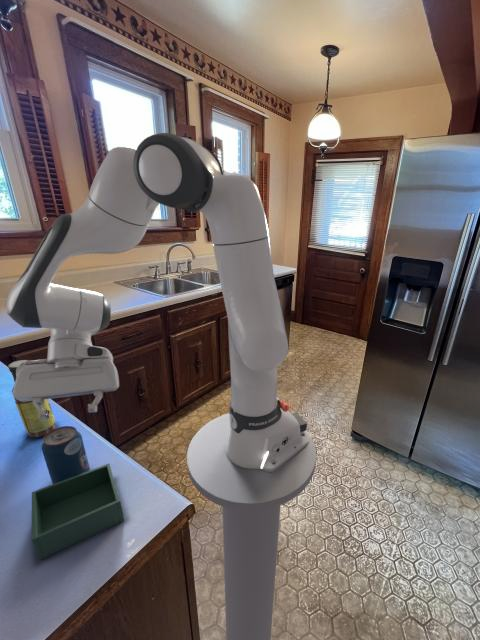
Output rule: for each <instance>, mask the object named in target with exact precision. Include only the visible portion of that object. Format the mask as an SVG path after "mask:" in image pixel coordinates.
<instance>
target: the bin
mask: <svg viewBox="0 0 480 640" xmlns="http://www.w3.org/2000/svg"><path fill="white" fill-rule="evenodd" d="M112 471H113V470H112V468H111V465H110V463H107V464H104V465H101V466H98V467H95V468H93V469H90V470H89V471H87V472H85V473H82V474H79V475H77V476H74V477H71V478H68V479H66V480H63V481H60V482H58V483H55V484H53V483H52V484H50V485H47V486H44V487H42V488H39V489H37V490H33V491H31V541H32V542H31V543H32V544H33V547H34V549H35V552H36V554H37V557H38V559H39V561H41V560H43V559H45V558H47V557H49V556H51V555H54V554H56V553H58V552H61V551H62V550H64V549H66V548H68V547H71V546H72V545H75V544H77V543H79V542H81V541H83V540H85V539H88V538H90V537H91V536H93V535H95V534H98V533H100V532H102V531H104V530H106V529H109V528H110V527H114V526H115V525H116V524H119V523H121V522H123V521H125V516H124V512H123V507H122V501H121V499H120V495H119V492H118V488H117V485H116V482H115V478H114V475H113V472H112Z"/></svg>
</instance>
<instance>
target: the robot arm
mask: <svg viewBox="0 0 480 640" xmlns="http://www.w3.org/2000/svg"><path fill="white" fill-rule="evenodd" d="M159 205H163V206H165V207H168V208H172V209H178V210H183V211H187V212H192V213H197V212H200V213H202V215H203V216H204V217H205V219H206V221H207V225H208V228H209V232H210V233H209V234H210V238H211V243H212V248H213V254H214V259H215V263H216V269H217V273H218V274H217V275H218V277H219V283H220V288H221V292H222V297H223V302H224V307H225V311H226V316H227V329H228V331H227V332H228V349H229V350H228V351H229V367H230V401H229V411H228V413H229V419H230V433H229V438H228V441H227V444H226V447H225V452H226V455H227V457H228V459H229V460H230V461H231V462H232V463H234V464H235V465H237V466H240V467H243V468H248V469H261V470H264V471H267V472H273V471H275V470H276V469H277V468H279V467H280V466H281V465H282V464H284V463H285V462H286V461H287V460H289V459H290V458H291V457H293V456H294V455H295V454H296V453H298V452H299V451H300V450H301V449H303V448H304V447H305V446H306V445H307V444H308V437H307V435H306V433H305V432H304V431H307V430H308V429H307V427H308V423H307V422H306V421H305V419H303V417H302V416H301V415H300V414H299V413H298V412H295V413H291V412H290V411H289V410H290V408H291V406H290V404H289V403H287V402H286V401H281V398H279V397H278V381H279V376H278V375H279V374H278V367H280V366H281V365H282V364H283V363H284V361H285V360H286V358H287V356H288V353H289V339H288V336H287V330H286V326H285V325H286V324H285V321H284V315H283V310H282V306H281V300H280V297H279V292H278V287H277V284H276V280H275V273H274V267H273V257H272V251H271V245H270V235H269V228H268V222H267V217H266V212H265V209H264V205H263V201H262V197H261V194H260V192H259V189H258V187H257V185H256V183H255V182H254V181H253V180H251V179H250V178H248V177H247V176H243V175H238V174H228V175H225V173H224V170H223V166H222V164H221V162H220V160H219V159H218V157H217V155H216V154H214V152H212V150H211V149H209V148H207V147H205V146H203V145H201V144H199V143H198V142H197V141H195V140H194V139H191V138H188V137H185V136H181V135H177V134H174V133H170V132H158V133H155V134H152V135H149V136H147V137H146V138H144V139H143V140H142V141H141V142H140V143H139V144H138V146H137V147H136V148H134V147H131V146H127V145H126V146H125V145H118V146H115V147H113V148H111V149H110V150H109V151H108V153H107V154H106V156H105V157H104V158H103V161H102V162H101V164H100V166H99V168H98V170H97V172H96V174H95V176H94V178H93V181H92V183H91V186H90V188H89V192H88V194H87V197H86V199H85V201H84V202H83V204H82V205H80V206H79V208H77V209H76V210H74V211H73V212H71V213H65V214H60V215H59V216H57V218H56V219H55V220H54V221H53V222H52V224H51V225H50V226H49V229H48V230H47V232H45V235H44V237H43V238H42V240H41V241H40V243H39V245H38V247H37V249H36V250H35V252H34V254H33V256H32V257H31V259H30V261H29V263H28V264H27V266H26V268H25V270H24V271H23V273H22V274H21V276H20V277H19V278H18V280H17V281H16V282H15V284H14V286H13V287H12V288H11V290H10V292H9V294H8V296H7V300H6V311H7V315H8V316H9V317H10V318H11V319H12V321H14V322H15V323H17V324H18V325H19V326H21V327H22V328H28V329H29V328H31V329H42V328H43V329H48V330H49V332H50V338H49V340H48V343H47V355H46V357H47V358H42V359H41V358H40V359H35V360H32V359H27V360H28V361H25V363H22V364H20V365H19V366H18V367H17V370H16V377H17V378H16V381H15V382H14V384H15V385H14V384H13V387H14V390H13V394H12V396H13V398H14V397H15V398H16V399H17V400H19V401H22V402H27V401H33V405H34V406H35V408H36V409H37V410H38V419H40V420H42V419H48V418H49V411H48V410H44V409H43V407H42V406H41V404H44V399H48V400H50V399H51V400H52V399H58V398H59V399H60V398H68V397H77V396H84V395H93V396H94V397H95V398H94V399H93V401H92V402H91V403H88V404H87V413H89V414H91V413H92V414H93V413H97V412H98V405H99V403H100V402H101V401H102V399H103V395H104V394H103V393H109V392H117V390H118V389H119V387H120V378H119V377H120V376H119V372H118V369H117V366H116V365H115V363H114V356H113V354H112V352H111V351H110V350H109V349H108V348H106V347H102V346H96V345H93V342H92V336H93V335H98V334H99V333H101V332H102V331H104V330H105V329H107V328H108V327H109V326H110V323H111V313H112V311H111V310H112V309H111V304H110V301H109V300H108V298H107V297H106V296H105V295H104V294H102V293H100V292H97V291H92V290H89V289H88V290H87V289H82V288H76V287H71V286H65V285H61V284H55V283H52V281H53V280H54V278H55V277H56V275H57V273H58V271H59V270H60V268H61V266H62V265H63V263H64V262H65V261H67V260H68V259H69V258H72V257H76V256H82V255H92V254H94V255H95V254H97V255H98V254H100V255H101V254H105V255H106V254H108V255H111V254H113V255H115V254H121V253H126V252H127V251H130V250H132V249H135V248H137V246H138V245H139V244H140V243H141V242H142V240H143V239H144V236H145V235H146V232H147V230H148V228H149V226H150V223H151V221H152V218H153V216H154V213H155V211H156V210H157V208H158V206H159ZM24 364H25V365H24ZM273 464H275V465H273Z"/></svg>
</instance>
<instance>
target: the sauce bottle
mask: <svg viewBox="0 0 480 640" xmlns="http://www.w3.org/2000/svg"><path fill="white" fill-rule="evenodd" d="M28 360H29V359H22V360H21V359H19V360H16V361H12V362H11V363H9V364H8V366H7V367H8V371H9V372H10V373H11V375H12V378H13V382H14V384H13V387H12V390H11V392H12V395H13V390H14V385H15V381H16V378H17V377H16V370H17V367H18V366H19V365H20V364H22V363H25V361H28ZM24 365H25V364H24ZM13 399H14V403H15V405H16V406H15V407H16V408H17V411H18V413H19V416H20V419H21V421H22V424H23V426H24V429H25V432H26V433H27V435H28V436H29V437H31V438H41V437H45V435H46V434H47V433H49V432H50V431H52V430H54V429H56V428H57V427H56V426H57V424H56V420H55V416H54V413H53V410H52V407H51V403H50V401H49V399H44V404H41V406H42V407H43V409H44V410H48V411H49V418H48V419H42V420H40V419H38V410H37V409H36V408H35V406H34V405H33V401H27V402H22V401H19V400H17V399H16V398H15V397H14V396H13Z"/></svg>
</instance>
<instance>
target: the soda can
mask: <svg viewBox="0 0 480 640" xmlns="http://www.w3.org/2000/svg"><path fill="white" fill-rule="evenodd" d="M41 452H42V455H43V458H44V461H45V464H46V469H47V471H48V473H49V477H50V480H51V483H52V484H55V483H58V482H60V481H63V480H66V479H68V478H71V477H74V476H77V475H79V474H82V473H85V472H87V471H90V470H91V469H90V464H89V460H88V459H89V458H88V456H87V451H86V448H85V444H84V440H83V435H82V434H81V433H80V432H79V431H78V430H77V428H76V427H74V426H71V425H65V426H59V427H55V429H54V430H52V431H50V432H49V433H47V434H46V435H44V436H43V438H42V445H41Z"/></svg>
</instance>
